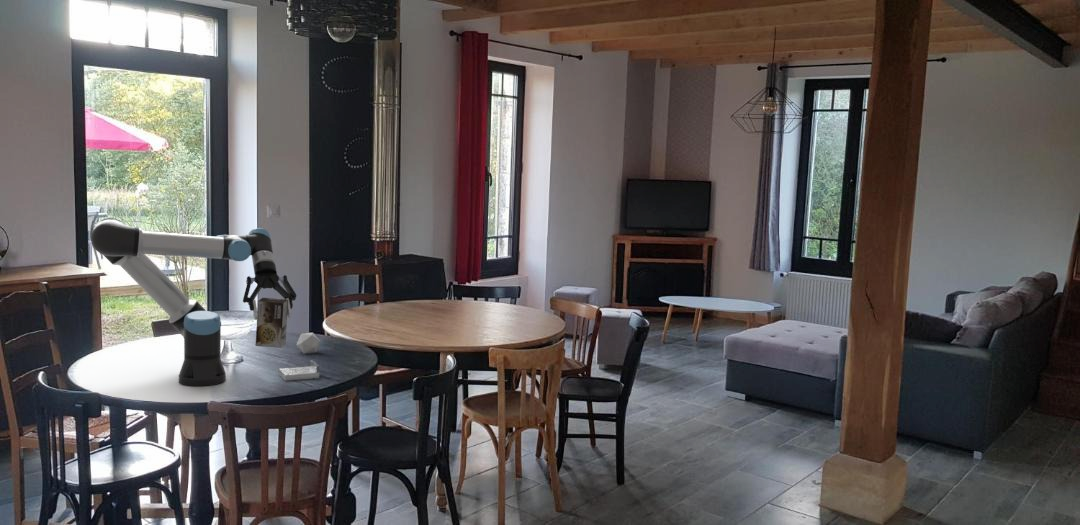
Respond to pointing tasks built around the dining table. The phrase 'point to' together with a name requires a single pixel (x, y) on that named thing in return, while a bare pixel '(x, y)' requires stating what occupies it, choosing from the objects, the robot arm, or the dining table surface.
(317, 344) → the die
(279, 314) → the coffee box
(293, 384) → the dining table surface
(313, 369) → the tray
